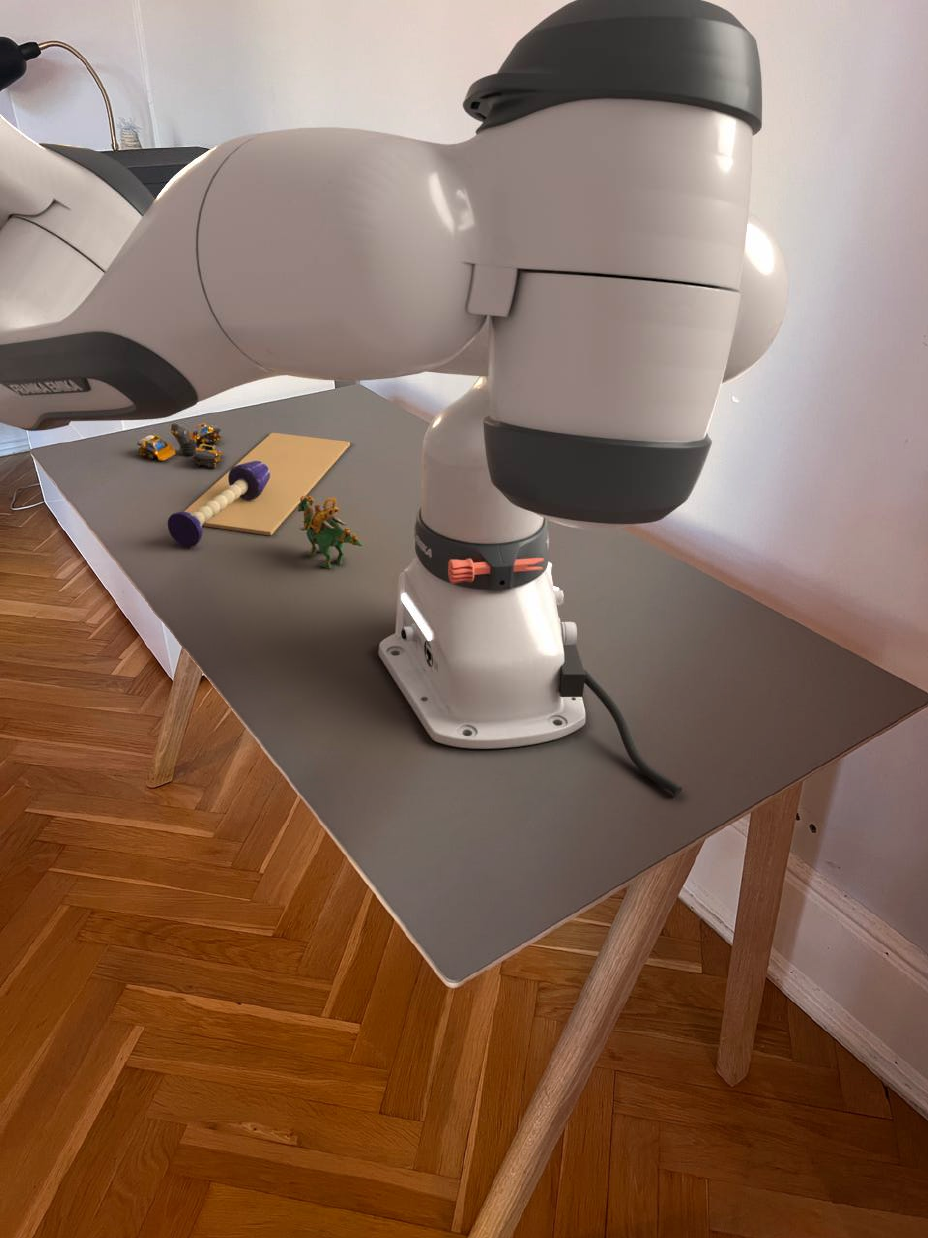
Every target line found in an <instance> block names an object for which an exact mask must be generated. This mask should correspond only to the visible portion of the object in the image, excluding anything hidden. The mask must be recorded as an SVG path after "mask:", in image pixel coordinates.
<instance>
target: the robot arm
mask: <svg viewBox="0 0 928 1238" xmlns="http://www.w3.org/2000/svg"><path fill="white" fill-rule="evenodd" d="M762 82H763V80H762V69H761V60H760V53H759V48H758V43H757V40H756V37H755V36H754V35H753V34H752V33H751V32H750V31H749V30H748V29H747V28H746V27H745V26H744V24H742V22H741V21H740V20H739V19H738V18H737V17H736V16H735V15H734V14H733V13H731V12H730V11H728V9H725V8H724V7H721V6H720V5H718V4H715V3H712V2H709V1H706V0H573V1H571V2H569V3H566V4H565V5H564V6H562V7H561V8H559V9H557V10H556V11H554V12H552V13H551V14H550V15H548V16H547V17H546V18H544V19H543V20H542V21H540V22H539V23H538V24H537V25H535V26H534V27H533V28H532V29H530V31H528V32H527V33H526V34H525V35H523V37H521V38H520V39H519V40H518V41H516V42H515V45H514V46H513V48H512V49H511V51H509V54H508V55H507V57H506V58H505V59H504V62H503V63H502V64H501V65H500V67H499V69H498V71H497V72H496V73H493V74H489V75H486V76H483V77H481V78H478V79H477V80H475V81H474V82H473V83H472V84H470V86H469V88H468V90H467V92H466V95H465V96H464V99H463V102H462V109H463V110H464V112H465V113H466V114H467V115H468V116H470V117H471V118H473V119H474V120H476V121H478V122H481V124H480V125H479V127H478V128H477V129H475V135H474V136H472V137H471V138H469V139H468V140H465V141H462V142H458V143H441V142H439V143H438V142H433V141H426V140H423V139H422V140H421V139H416V138H412V137H407V136H403V135H398V134H393V133H387V132H382V131H374V130H368V129H362V128H352V127H338V126H333V127H332V126H330V127H329V126H327V127H326V126H325V127H323V126H322V127H295V128H285V129H277V130H271V131H263V132H257V133H250V134H245V135H241V136H238V137H234V138H231V139H229V140H227V141H224V142H222V143H219V144H218V145H216V146H214V147H212V148H211V149H209V150H208V151H206V152H204V153H203V154H202V155H200V156H198V157H197V158H195V159H194V160H193V161H191V162H190V163H189V164H187V165H186V166H185V167H183V168H182V169H180V171H179V172H177V173H176V174H175V175H174V176H173V177H172V178H171V179H170V180H169V182H168V183H167V184H166V185H165V186H164V188H162V190H161V191H160V193H159V194H158V195H157V196H156V198H155V197H154V196H153V194H152V193H151V192H150V191H149V189H148V188H147V187H146V186H145V185H144V184H143V183H142V181H141V180H140V179H139V178H138V177H136V175H135V174H133V172H132V171H130V170H129V169H128V168H127V166H124V165H123V164H122V163H120V162H119V161H117V160H116V159H114V158H112V157H110V156H108V155H106V154H104V153H102V152H100V151H97V150H95V149H92V148H88V147H82V146H75V145H69V144H61V143H53V142H52V143H51V142H40V143H36V142H35V141H33V140H32V139H31V138H29V137H28V136H26V135H25V134H24V133H23V132H21V131H20V130H18V129H17V128H16V127H15V126H13V125H12V124H11V123H10V122H9V121H8V120H7V119H6V118H4V117H3V116H2V115H1V114H0V423H1V424H4V425H7V426H10V427H14V428H18V429H21V430H24V431H26V432H27V431H28V432H40V431H50V430H54V429H55V430H56V429H59V428H64V427H68V426H69V425H70V423H72V422H104V421H105V422H106V421H107V422H108V421H109V422H111V421H113V422H114V421H146V420H147V421H148V420H159V419H164V418H169V417H172V416H174V415H176V414H179V413H181V412H183V411H186V410H188V409H190V408H192V407H194V406H196V405H197V404H198V403H199V402H202V401H206V400H207V399H210V398H212V397H214V396H215V397H216V396H217V395H220V394H221V393H224V392H227V391H229V390H231V389H234V388H237V387H240V386H243V385H247V384H250V383H253V382H257V381H260V380H261V381H262V380H265V379H268V378H269V379H270V378H275V377H281V376H289V377H294V378H295V377H296V378H301V379H310V380H320V381H333V382H334V381H336V382H353V381H354V382H356V381H357V382H358V381H359V382H360V381H361V382H362V381H374V380H375V381H376V380H377V381H378V380H387V379H395V378H401V377H402V378H403V377H406V376H407V377H409V376H412V375H419V374H422V373H425V372H426V373H435V374H444V375H445V374H446V375H458V376H471V377H478V378H477V379H476V381H475V382H474V384H473V385H472V386H471V387H470V388H469V390H467V392H466V393H464V394H463V395H462V396H461V397H459V398H458V399H456V400H455V401H453V402H452V403H450V404H448V405H447V406H445V407H444V408H443V409H441V410H440V411H439V412H438V413H437V414H436V415H435V416H434V417H433V418H432V421H431V422H430V423H429V426H428V427H427V429H426V431H425V434H424V436H423V439H422V444H421V445H422V446H421V490H420V492H421V493H420V495H421V496H420V507H419V508H418V510H417V512H416V516H415V517H416V518H415V523H414V528H413V529H414V531H413V534H414V535H413V537H414V551H415V556H414V557H413V559H412V561H411V562H410V563H409V564H408V565H407V567H405V569H403V571H401V573H400V574H399V575H398V584H397V600H396V617H395V619H396V620H395V632H394V633H393V634H391V635H388V636H387V637H385V638H384V639H382V640H381V641H380V643H379V645H378V652H377V653H378V657H379V658H380V660H381V662H382V663H383V665H384V666H385V668H386V670H387V671H388V673H389V674H390V676H391V677H392V679H393V680H394V682H395V684H396V685H397V687H398V688H399V690H400V691H401V693H402V695H403V696H404V697H405V699H406V701H407V703H408V704H409V705H410V707H411V709H412V711H413V712H414V713H415V715H416V717H417V718H418V720H419V722H420V723H421V725H422V726H423V728H424V730H425V731H426V733H427V734H428V735H429V737H430V738H431V740H433V742H436V743H439V744H443V745H446V746H451V747H455V748H462V749H475V750H477V749H478V750H479V749H481V750H483V749H484V750H488V749H489V750H490V749H505V748H517V747H523V746H524V747H525V746H531V745H536V744H542V743H546V742H550V741H554V740H558V739H561V738H564V737H567V736H568V735H570V734H572V733H575V732H576V731H578V730H579V729H581V728H582V727H584V725H585V724H586V709H585V706H584V700H583V697H584V696H583V695H584V688H585V685H586V686H587V687H588V689H590V690H591V692H593V694H594V695H595V696H596V697H597V698H598V700H600V702H601V703H602V704H603V706H604V707H605V708H606V710H607V711H608V713H609V714H610V715H611V717H612V719H613V721H614V723H615V725H616V727H617V728H616V729H618V732H619V736H620V738H621V741H622V743H623V746H624V748H625V749H624V750H626V753H627V755H628V757H629V758H630V760H631V761H632V763H633V764H634V765H635V767H636V768H637V769H638V770H639V771H640V772H641V773H642V774H643V775H644V776H646V778H649V779H650V780H651V781H652V782H654V783H656V784H658V786H659V785H660V786H661V787H663V788H664V789H666V790H667V791H669V792H670V793H672V794H674V795H675V796H678V795H680V794H681V793H682V790H683V787H682V786H681V785H679V784H678V783H676V782H675V781H673V780H672V779H670V778H668V777H667V776H664V775H662V774H661V773H660V772H658V771H656V770H655V769H654V768H652V767H651V766H650V765H649V764H648V762H646V760H645V759H644V758H643V757H642V755H641V754H640V753H639V751H638V749H637V747H636V745H635V743H634V741H633V737H632V735H631V732H630V729H629V726H628V724H627V721H626V720H625V718H624V715H623V714H622V712H621V710H620V709H619V707H618V705H616V703H615V701H614V700H613V699H612V698H611V696H610V695H609V694H608V693H607V691H605V689H604V688H603V687H602V686H601V685H600V684H599V683H598V682H597V681H596V680H595V678H593V677H592V676H591V674H590V673H589V672H588V671H587V670H586V669H585V668H584V665H583V662H582V659H581V655H580V651H579V649H578V645H577V641H578V630H577V624H576V622H573V621H561V618H560V617H559V612H558V606H562V605H563V604H564V591H563V590H562V589H560V588H559V587H557V586H554V582H553V576H552V569H553V568H552V567H553V564H552V562H550V561H549V547H550V534H549V531H548V521H550V522H552V523H556V524H559V525H560V526H561V525H562V526H564V527H568V528H573V529H580V530H588V531H589V530H590V531H605V530H616V529H617V530H618V529H622V528H626V527H630V526H634V525H642V524H651V523H654V522H655V523H656V522H659V521H661V520H663V519H664V518H666V517H667V516H669V515H670V514H672V513H673V512H674V511H676V509H678V508H679V507H680V506H681V505H683V504H685V502H687V501H688V499H689V498H690V497H691V495H692V493H693V491H694V489H695V487H696V485H697V483H698V481H699V478H700V476H701V474H702V471H703V469H704V466H705V464H706V461H707V458H708V456H709V453H710V450H711V447H712V443H713V440H712V439H711V438H710V437H709V433H708V430H709V427H710V424H711V421H712V418H713V415H714V412H715V408H716V405H717V401H718V398H719V395H720V392H721V387H722V386H723V385H725V384H728V383H730V382H732V381H734V380H735V381H736V379H738V378H739V377H741V376H742V375H744V374H746V373H747V372H748V371H749V370H751V369H752V368H753V367H754V366H756V364H757V363H758V362H759V361H760V360H761V359H762V358H763V357H764V356H765V355H766V354H767V352H768V350H769V349H770V347H771V346H772V345H773V343H774V341H775V340H776V338H777V336H778V334H779V331H780V329H781V328H782V325H783V321H784V318H785V315H786V311H787V305H788V302H789V301H788V300H789V275H788V267H787V264H786V260H785V256H784V253H783V251H782V249H781V246H780V244H779V242H778V240H777V238H776V237H775V235H774V234H773V233H772V231H771V230H770V229H769V227H768V226H767V225H766V224H765V223H764V222H763V221H762V220H761V219H760V218H758V217H757V216H756V215H755V214H753V213H751V212H750V201H751V200H750V199H751V186H752V172H753V171H752V170H753V168H752V167H753V139H754V138H753V137H754V136H755V135H757V134H758V133H759V132H760V131H761V129H762V127H763V83H762Z"/></svg>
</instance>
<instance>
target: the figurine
mask: <svg viewBox="0 0 928 1238" xmlns="http://www.w3.org/2000/svg"><path fill="white" fill-rule="evenodd" d="M302 499H303V500H302ZM300 501H301V502H300V503H299V504H298V505H297V506H298V508H297V512H298V513H299V512H303V520H302V523H303V527H300V526H298V529H299V530H300V531H305V532H306V537H307V539H308V541H309V543H310V544H311V548H310V549H311V550H310V552H309V553H307V554H306V555H307V556H310V557H314V555H315V554H316V552H317V547H316V545H317V546H318V552H319V553H321V554H322V555H323V557H325V558H326V562H323V563H321V564H320V566H321V567H324V568H326V567H328V568H330V569H331V568H332V565H331V563H330V562H331V559H332V556H331V553H330V547H333V548H334V547H335V549H336V550H337V551H338V556H337V557H336V558H333V559H332V561H333V562H336V563H339V564H340V565H342V564H343V561H342V559H343V557H344V554H345V553H344V550H343V547H344V543H345V544H347V543H348V544H350V545H352V546H358V547H362V546H363V544H362V542H361V541H359V539H358V536H357V535H356V534H352V536H351V529H349V528H348V527H345V528H344V530H343V529H342V527H340V525H342V526H347V523H345V522H343V521H342V520H341V519H339V518H338V517H337V516H335V515H334V514H339V511H340V508H339V507H337V504H338V503H337V499H336V498H335V497H329V498H327V499H326V500H325V501H324V503H323V506H322V507H323V510H321V507H320V504H315V505H314V510H313V508H312V507H313V504H314V503H315V499H314V498H313V497H312V496H311V495H308V496H307V495H306V496H305V495H303V496H302V497H301V498H300ZM330 503H332V506H328V505H329V504H330Z"/></svg>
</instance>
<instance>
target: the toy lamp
mask: <svg viewBox="0 0 928 1238" xmlns="http://www.w3.org/2000/svg"><path fill="white" fill-rule="evenodd" d="M234 466H235V465H234ZM234 466H233V467H232V468H231V469H230V470H229V471H230V472H229V471H228V472H229V475H228V481H229V484H230V486H229V487H228V488H227V489H226V490H225V491H223V492H221V493H220V495H218V496H216V497H214V498H213V499H212V501H209V502H207V503H206V504H205V505H204V506H203V507H200V508H199V509H198V510H197V511H196V512H194V513H192V514H191V513H188V512H184V511H177V512H174V513H172V514H171V515H170V516H169V517H168V519H167V529H168V532H169V534H170V536H171V537H172V538H173V539H174V541H175V542H177V544H179V545H180V546H183V547H185V548H192V547H195V546H197V545H198V543H199V542H200V541H201V539H202V537H203V532H204V530H203V526H202V525H203V523H204V522H207V521H208V520H210V519H211V517H213V516H215V515H217V514H218V513H219V511H222V510H224V509H225V508H226V506H227V505H230V504H231V503H232V502H233V501H234V500H236V499H238V498H239V497H240V498H242V499H245V500H254V499H256V498H257V497H259V496H260V494H261V493H262V491H263V489H264V488H265V486H266V484H267V482H268V481H269V478H270V471H269V469H268V467H267V466H266V465H265V464H264V463H263V462H260V461H252V462H248V463H244V464H240V465H237V466H235V467H234Z"/></svg>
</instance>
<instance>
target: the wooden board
mask: <svg viewBox="0 0 928 1238" xmlns="http://www.w3.org/2000/svg"><path fill="white" fill-rule="evenodd" d="M350 446H351V442H350V441H346V440H345V441H344V440H337V439H328V438H319V437H313V436H312V437H311V436H305V435H296V434H286V433H280V432H271V433H269V434H268V436H266V437H265V438H264V439H263V440H262V441H261V442H260V443H259V444H258V445H256V446H255V447H254V448H253V449H252V450H250V451H249V452H248V453H247V455H245V456H244V457H242V459H240V461H238V462H237V463H236V464H235V465H234V466H233V467H235V466H237V465H240V464H244V463H248V462H252V461H260V462H263V463H264V464H265V465H266V466H267V467H268V469H269V471H270V478H269V481H268V482H267V484H266V486H265V488H264V489H263V491H262V493H261V494H260V496H259V497H257V498H256V499H254V500H245V499H242V498H240V497H239V498H238V499H236V500H234V501H233V502H232V503H231V504H230V505H227V506H226V508H225V509H224V510H222V511H219V513H218V514H217V515H215V516H213V517H211V519H210V520H208V521H207V522H204V523H203V525H202V527H207V528H208V527H209V528H214V529H215V528H216V529H222V530H228V531H235V532H242V533H243V532H244V533H250V534H257V535H265V536H272V535H273V534H274V533H275V532H276V530H277V529H278V528H279V527H280V526H281V525H283V524H282V523H283V522H285V520H286V519H287V518H288V517H289V516H290V515H291V513H292V512H293V511H294V510H295V509H296V508H297V507H298V506H299V505H298V504H299V503H300V502H301V501H300V498H301V497H302V496H303V495H305V496H306V497H307V495H308V494H309V493H310V492H311V490H312V489H313V488H314V487H315V486H316V485H317V484H318V482H319V481H320V480H322V478H323V477H324V476H325V475H326V473H327V472H328V471H329V470H330V469H331V468H332V466H333V465H334V464H335V463H336V462H337V461H338V459H339V458H340V457H341V456H342V455H343V454H344V453H345V452H346V450H347V449H348V448H349V447H350ZM229 472H230V470H228V471H227V472H226V473H225V474H224V475H223V476H222V477H221V478H220V479H218V481H216V482H215V483H214V484H213V485H212V486H211V487H210V488H208V489H207V490H206V491H205V492H204V493H203V494H202V495H201V496H200V497H199V498H198V499H196V500H195V501H194V502H193V503H191V505H190V506H189V507H188V508H186V509H185V510H184V511H183V512H188V513H191V514H192V513H194V512H196V511H197V510H198V509H199V508H200V507H203V506H204V505H205V504H206V503H207V502H209V501H212V499H213V498H214V497H216V496H218V495H220V493H221V492H223V491H225V490H226V489H227V488H228V487H229V486H230V484H229V481H228V475H229ZM303 499H304V498H303ZM303 499H302V500H303Z"/></svg>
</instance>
